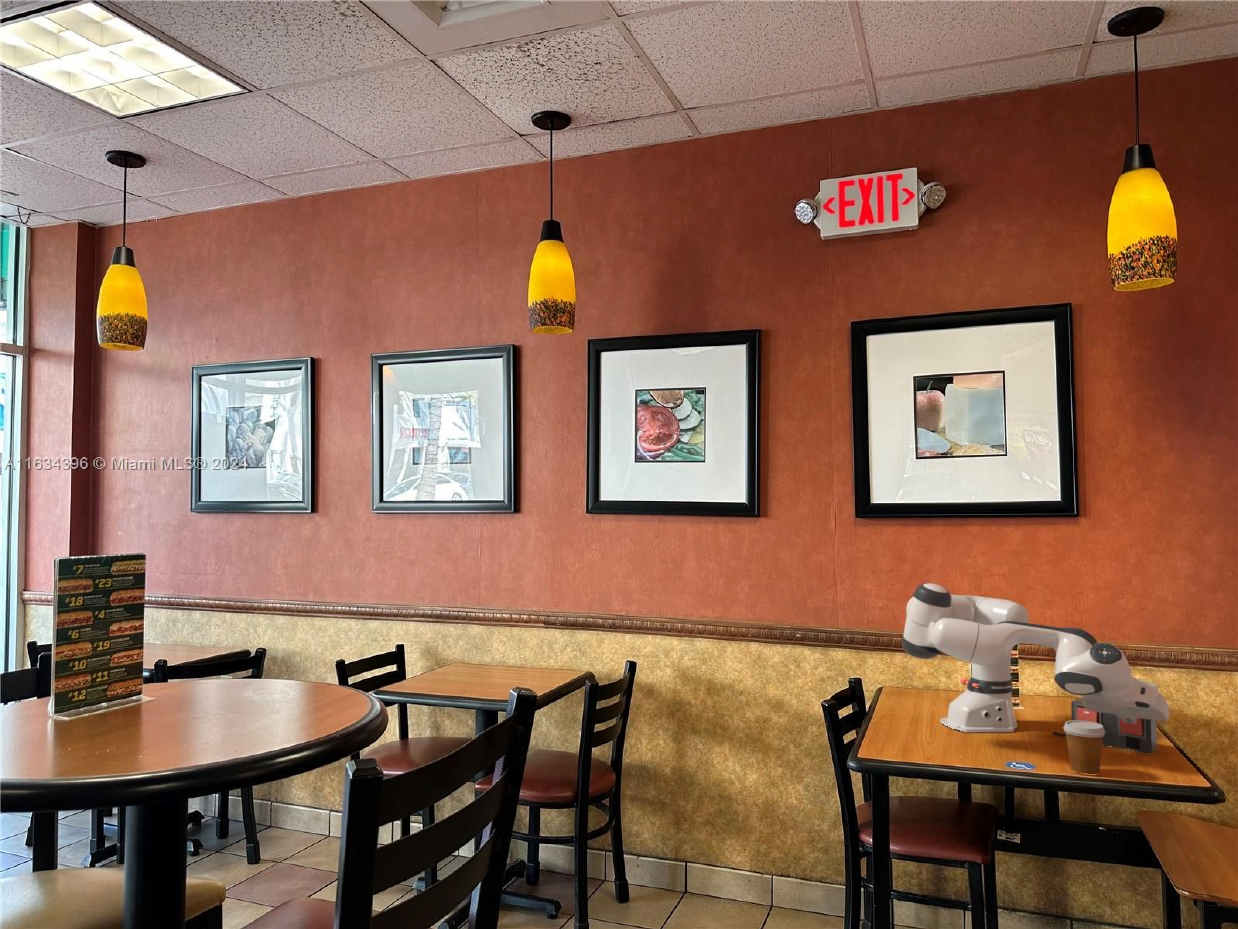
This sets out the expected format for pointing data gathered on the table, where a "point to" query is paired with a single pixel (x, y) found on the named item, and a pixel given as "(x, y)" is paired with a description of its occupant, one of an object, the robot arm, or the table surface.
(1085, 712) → the rocker
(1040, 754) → the table surface
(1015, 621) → the robot arm
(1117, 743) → the double rocker switch box
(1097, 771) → the disposable coffee cup
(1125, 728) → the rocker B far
